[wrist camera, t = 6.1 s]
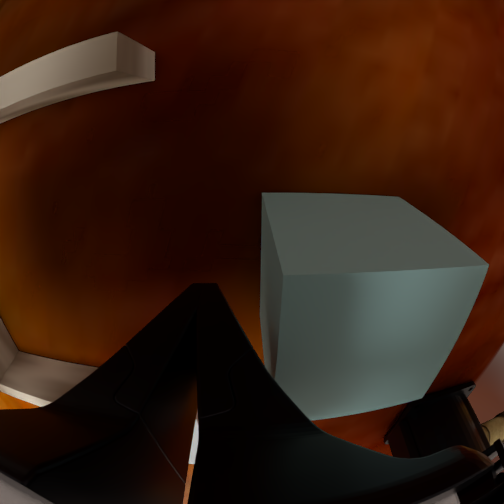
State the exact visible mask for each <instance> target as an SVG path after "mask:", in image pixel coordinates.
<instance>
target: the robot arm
mask: <svg viewBox="0 0 504 504" xmlns="http://www.w3.org/2000/svg"><path fill="white" fill-rule="evenodd" d="M475 386H476V385H475V383H474V381H472V382H469V383H466V384H463V385H460V386H457V387H454V388H451V389H448V390H445V391H442V392H439V393H435V394H432V395H428V396H425V397H423V398H421V399H418V400H414V401H412V402H411V403H410V404H409V405H408V407H407V408H406V410H405V411H404V412H403V414H402V415H401V417H400V418H399V420H398V421H397V422H396V424H395V425H394V426H393V428H392V429H391V430H390V432H389V433H388V434H387V436H386V437H385V438H384V443H385V444H389V445H390V448H391V452H392V455H393V457H392V456H388V455H385V454H382V453H379V452H376V451H373V450H370V449H367V448H364V447H361V446H359V445H356V444H353V443H350V442H348V441H345V440H342V439H340V438H337V437H335V436H332V435H330V434H328V433H326V432H324V431H322V430H321V429H320V428H318V427H317V426H316V425H315V424H314V423H312V422H311V421H310V420H309V418H308V417H307V416H306V415H305V414H304V413H303V412H302V411H301V410H300V409H299V408H298V406H297V405H296V404H295V403H294V402H293V401H292V400H291V399H290V397H289V396H288V395H287V394H286V393H285V392H284V391H283V389H282V388H281V387H280V386H279V385H278V383H277V382H276V381H275V380H274V378H273V377H272V376H271V375H270V373H269V372H268V371H267V369H266V368H265V366H264V365H263V363H262V361H261V360H260V358H259V357H258V355H257V353H256V352H255V350H254V349H253V347H252V345H251V343H250V341H249V340H248V338H247V336H246V335H245V333H244V331H243V329H242V328H241V326H240V324H239V322H238V320H237V319H236V317H235V315H234V313H233V312H232V310H231V308H230V306H229V304H228V302H227V301H226V299H225V297H224V295H223V293H222V292H221V290H220V288H219V286H218V284H216V283H193V284H191V285H190V286H189V287H188V288H187V289H186V290H185V291H183V292H182V293H181V294H180V295H179V296H178V297H177V298H176V299H175V300H174V301H172V302H171V303H170V304H169V305H168V306H167V307H166V308H165V309H164V310H162V311H161V312H160V313H159V314H158V315H157V316H156V317H155V318H154V319H153V320H151V321H150V322H149V323H148V324H147V325H146V326H145V327H144V328H143V329H142V330H141V331H139V332H138V333H137V334H136V335H135V336H134V337H133V338H132V339H131V340H130V341H129V342H127V343H126V346H123V347H122V348H121V349H120V350H119V351H118V352H116V353H115V354H114V355H113V356H112V357H111V358H110V359H109V360H107V361H106V362H105V363H104V364H103V365H101V366H100V367H99V368H98V369H96V370H95V371H94V372H93V373H91V374H90V375H89V376H87V377H86V378H85V379H83V380H82V381H81V382H79V383H78V384H77V385H75V386H74V387H73V388H71V389H70V390H69V391H67V392H66V393H65V394H63V395H62V396H61V397H59V398H58V399H56V400H55V401H53V402H52V403H50V404H48V405H45V406H42V407H38V408H32V409H3V410H0V504H183V498H184V491H185V483H186V477H187V471H188V464H189V458H190V451H191V445H192V439H193V433H194V427H195V421H196V415H197V409H198V421H199V422H198V446H197V452H196V458H195V463H194V469H193V475H192V481H191V487H190V493H189V499H188V504H504V473H503V472H501V471H502V470H504V444H503V442H502V441H501V440H500V438H499V439H497V440H496V441H495V442H494V443H493V445H490V443H489V441H488V439H487V437H486V434H485V432H484V430H483V428H482V426H481V424H480V422H479V420H478V418H477V416H476V414H475V412H474V410H473V408H472V406H471V404H470V403H469V401H468V399H467V397H468V396H469V395H470V393H471V392H472V391H473V389H474V388H475ZM497 455H498V456H499V458H500V460H498V461H497V462H495V463H493V462H492V461H491V460H492V459H493V458H495V457H496V456H497ZM500 472H501V473H500ZM498 473H499V474H498ZM497 474H498V475H497Z"/></svg>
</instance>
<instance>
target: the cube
mask: <svg viewBox="0 0 504 504" xmlns="http://www.w3.org/2000/svg"><path fill="white" fill-rule="evenodd" d="M488 267H489V264H488V263H487V262H485V261H484V260H483V259H482V258H481V257H479V256H478V255H477V254H476V253H475V252H473V251H472V250H471V249H470V248H469V247H467V246H466V245H465V244H464V243H462V242H461V241H460V240H458V239H457V238H456V237H455V236H453V235H452V234H451V233H449V232H448V231H447V230H445V229H444V228H443V227H441V226H440V225H439V224H437V223H436V222H435V221H433V220H432V219H431V218H429V217H428V216H426V215H425V214H423V213H422V212H421V211H419V210H418V209H416V208H415V207H413V206H412V205H410V204H409V203H407V202H406V201H404V200H403V199H401V198H400V197H394V196H377V195H357V194H330V193H262V224H261V284H260V322H261V332H262V342H263V353H264V363H265V368H266V369H267V371H268V372H269V373H270V375H271V376H272V377H273V378H274V380H275V381H276V382H277V383H278V385H279V386H280V387H281V388H282V389H283V391H284V392H285V393H286V394H287V395H288V396H289V397H290V399H291V400H292V401H293V402H294V403H295V404H296V405H297V406H298V408H299V409H300V410H301V411H302V412H303V413H304V414H305V415H306V416H307V417H308V418H309V420H310V421H311V420H319V419H327V418H334V417H340V416H346V415H352V414H358V413H363V412H368V411H373V410H378V409H382V408H386V407H391V406H395V405H399V404H403V403H407V402H410V401H414V400H418V399H421V398H423V396H424V395H425V393H426V392H427V390H428V388H429V387H430V385H431V384H432V382H433V381H434V379H435V377H436V376H437V374H438V373H439V371H440V369H441V368H442V366H443V364H444V362H445V361H446V359H447V357H448V355H449V354H450V352H451V350H452V348H453V346H454V344H455V342H456V341H457V339H458V337H459V335H460V333H461V331H462V329H463V327H464V325H465V322H466V320H467V318H468V316H469V314H470V312H471V309H472V307H473V305H474V303H475V300H476V298H477V296H478V293H479V291H480V288H481V286H482V283H483V281H484V278H485V275H486V273H487V270H488Z"/></svg>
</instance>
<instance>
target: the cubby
mask: <svg viewBox="0 0 504 504" xmlns="http://www.w3.org/2000/svg"><path fill="white" fill-rule="evenodd" d="M150 81H155V52H154V51H152V50H150V49H148V48H147V47H145V46H143V45H141V44H140V43H138V42H136V41H134V40H132V39H131V38H129V37H127V36H125V35H123V34H121V33H119V32H113V33H110V34H106V35H102V36H99V37H96V38H92V39H89V40H86V41H83V42H80V43H77V44H74V45H71V46H68V47H65V48H63V49H60V50H58V51H55V52H52V53H50V54H48V55H45V56H43V57H40V58H38V59H36V60H34V61H31V62H29V63H27V64H25V65H23V66H21V67H19V68H17V69H15V70H13V71H11V72H9V73H7V74H5V75H3V76H1V77H0V123H2V122H5V121H7V120H10V119H12V118H15V117H17V116H20V115H22V114H25V113H28V112H30V111H33V110H36V109H39V108H42V107H45V106H48V105H51V104H54V103H57V102H60V101H64V100H67V99H71V98H74V97H78V96H82V95H85V94H89V93H93V92H98V91H102V90H106V89H111V88H116V87H121V86H126V85H132V84H137V83H143V82H150ZM96 369H98V367H91V366H85V365H79V364H74V363H69V362H63V361H58V360H54V359H49V358H45V357H40V356H36V355H32V354H28V353H24V352H20V351H18V349H17V347H16V346H15V344H14V342H13V340H12V339H11V337H10V335H9V333H8V331H7V329H6V327H5V326H4V324H3V322H2V320H1V318H0V391H1V392H4V393H6V394H8V395H11V396H13V397H16V398H18V399H21V400H24V401H26V402H29V403H32V404H35V405H38V406H41V407H42V406H45V405H48V404H50V403H52V402H53V401H55V400H56V399H58V398H59V397H61V396H62V395H63V394H65V393H66V392H67V391H69V390H70V389H71V388H73V387H74V386H75V385H77V384H78V383H79V382H81V381H82V380H83V379H85V378H86V377H87V376H89V375H90V374H91V373H93V372H94V371H95V370H96Z"/></svg>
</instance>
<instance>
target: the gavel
mask: <svg viewBox="0 0 504 504" xmlns="http://www.w3.org/2000/svg"><path fill="white" fill-rule="evenodd" d="M481 426H482V428H483V430H484V432H485V434H486V437H487V439H488V441H489V443H490V445H493V443H494V442H495V441H496V440H497V439H499V438H500V440H501V441H502V442H504V411H503V412H501V413H499V414H497V415H496V416H495V417H494V418H493V419H491V420H489V421H487V422H485V423H482V424H481Z"/></svg>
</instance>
